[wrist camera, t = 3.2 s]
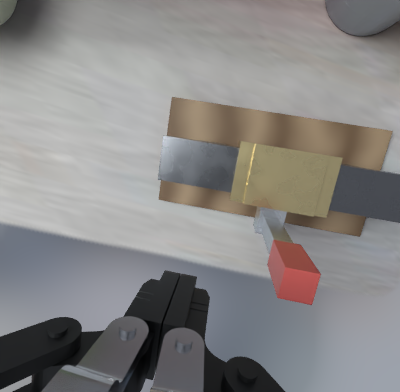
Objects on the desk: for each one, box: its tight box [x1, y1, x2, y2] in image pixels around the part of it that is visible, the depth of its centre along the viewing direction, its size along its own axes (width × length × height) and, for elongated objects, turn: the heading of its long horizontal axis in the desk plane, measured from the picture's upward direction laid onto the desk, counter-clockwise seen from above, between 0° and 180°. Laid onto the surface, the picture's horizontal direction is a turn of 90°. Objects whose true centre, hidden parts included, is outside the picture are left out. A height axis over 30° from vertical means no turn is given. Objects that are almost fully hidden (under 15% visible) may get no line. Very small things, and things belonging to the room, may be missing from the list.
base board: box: [159, 97, 393, 237], centre depth 34 cm, size 26×13×2 cm, turn 81°
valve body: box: [158, 136, 400, 223], centre depth 28 cm, size 22×5×11 cm, turn 81°
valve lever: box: [253, 206, 321, 305], centre depth 21 cm, size 2×3×13 cm
